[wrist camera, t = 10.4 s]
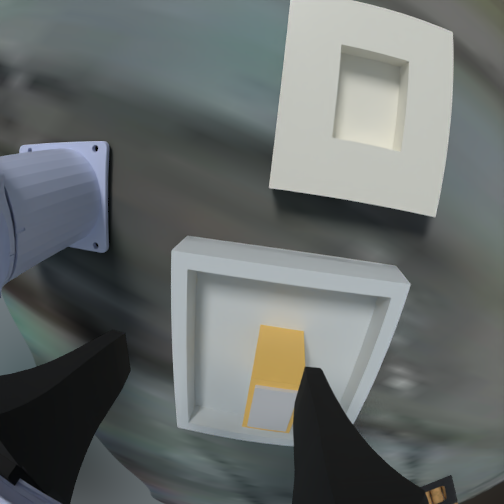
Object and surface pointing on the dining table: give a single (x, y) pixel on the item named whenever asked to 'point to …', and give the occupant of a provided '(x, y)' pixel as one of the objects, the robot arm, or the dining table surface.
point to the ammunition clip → (438, 487)
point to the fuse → (275, 379)
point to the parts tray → (277, 315)
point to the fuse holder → (364, 106)
